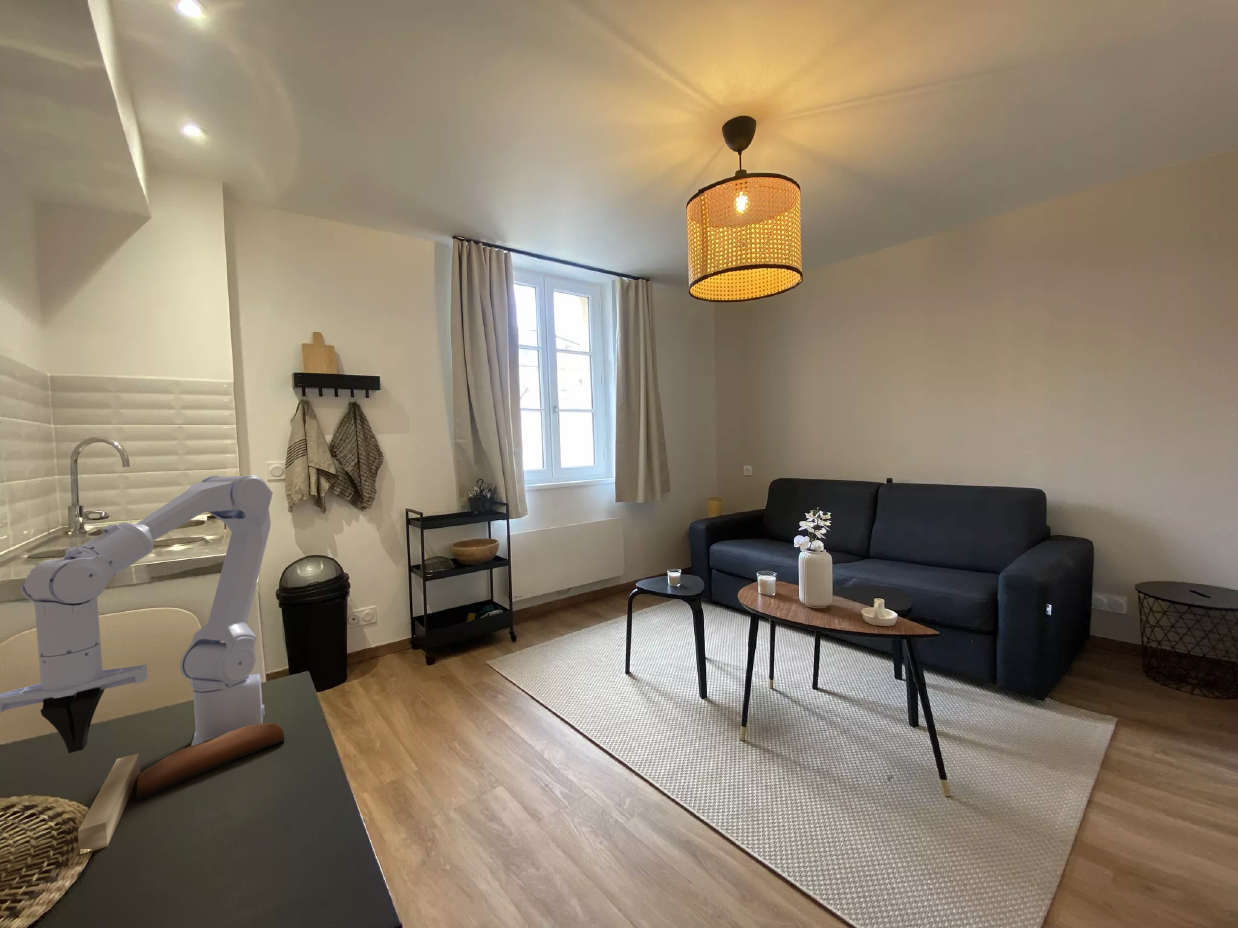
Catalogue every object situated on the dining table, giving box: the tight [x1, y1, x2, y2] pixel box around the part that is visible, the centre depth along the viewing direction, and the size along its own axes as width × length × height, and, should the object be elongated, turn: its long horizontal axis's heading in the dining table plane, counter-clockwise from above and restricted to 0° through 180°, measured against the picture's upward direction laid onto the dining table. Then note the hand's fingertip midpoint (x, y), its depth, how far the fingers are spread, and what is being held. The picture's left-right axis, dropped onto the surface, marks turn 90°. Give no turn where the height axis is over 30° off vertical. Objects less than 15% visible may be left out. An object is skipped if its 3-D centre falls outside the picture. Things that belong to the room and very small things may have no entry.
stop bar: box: [77, 752, 141, 852], centre depth 70 cm, size 2×18×3 cm, turn 33°
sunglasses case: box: [133, 722, 285, 803], centre depth 80 cm, size 18×7×7 cm, turn 141°
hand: (78, 748), depth 70 cm, fingers closed
